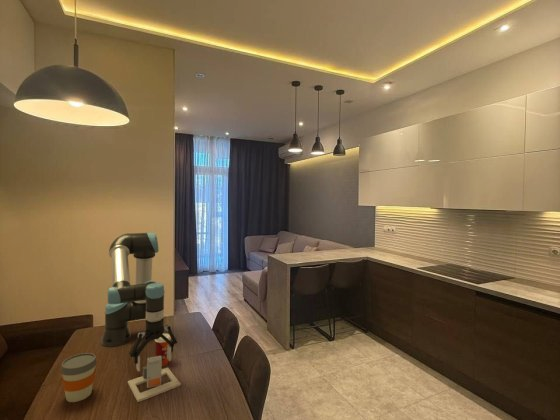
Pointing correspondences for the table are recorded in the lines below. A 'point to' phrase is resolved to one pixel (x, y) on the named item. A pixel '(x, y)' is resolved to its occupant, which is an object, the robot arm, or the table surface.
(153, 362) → the skincare box
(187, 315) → the table surface
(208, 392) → the table surface
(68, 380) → the reusable coffee cup
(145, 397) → the socket board
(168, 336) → the paper cup
